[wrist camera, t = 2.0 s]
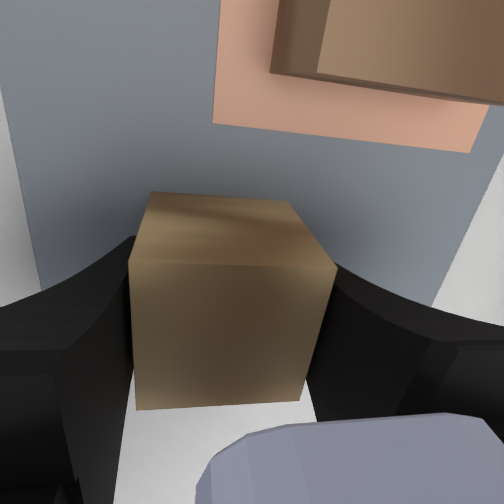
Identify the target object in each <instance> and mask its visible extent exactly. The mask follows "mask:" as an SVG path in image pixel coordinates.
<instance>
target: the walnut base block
mask: <svg viewBox="0 0 504 504" xmlns="http://www.w3.org/2000/svg"><path fill="white" fill-rule="evenodd" d="M269 73H272V74H279V75H285V76H292V77H298V78H305V79H311V80H318V81H324V82H331V83H337V84H344V85H350V86H357V87H363V88H370V89H376V90H383V91H389V92H395V93H402V94H408V95H415V96H421V97H428V98H434V99H441V100H447V101H456V102H465V103H475V104H485V105H494V106H504V0H279V6H278V13H277V21H276V28H275V35H274V43H273V50H272V58H271V65H270V72H269Z"/></svg>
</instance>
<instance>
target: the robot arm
mask: <svg viewBox="0 0 504 504" xmlns="http://www.w3.org/2000/svg"><path fill="white" fill-rule="evenodd" d="M136 237H137V236H132V235H131V236H130V237H128V238H127V239H126V240H124V241H123V242H122V243H121V244H119V245H118V246H117V247H115V248H114V249H113V250H111V251H110V252H109V253H107V254H106V255H104V256H103V257H102V258H100V259H99V260H97V261H96V262H94V263H93V264H91V265H89V266H88V267H86V268H85V269H83V270H82V271H80V272H79V273H77V274H75V275H73V276H72V277H70V278H68V279H66V280H64V281H62V282H60V283H58V284H56V285H54V286H52V287H50V288H48V289H46V290H43V291H41V292H39V293H36V294H34V295H31V296H29V297H26V298H24V299H21V300H19V301H16V302H14V303H12V304H9V305H6V306H3V307H0V504H113V501H114V493H115V485H116V478H117V471H118V463H119V456H120V449H121V442H122V435H123V429H124V422H125V415H126V409H127V402H128V396H129V389H130V383H131V379H132V374H133V370H134V361H133V342H132V323H131V304H130V285H129V266H128V261H129V258H130V255H131V252H132V249H133V246H134V243H135V240H136ZM333 262H334V261H333ZM334 264H335V265H336V266H337V268H338V269H337V272H336V276H335V279H334V283H333V286H332V290H331V293H330V297H329V300H328V303H327V307H326V310H325V314H324V317H323V321H322V324H321V327H320V331H319V334H318V338H317V341H316V345H315V348H314V352H313V355H312V358H311V362H310V365H309V369H308V372H307V376H306V381H307V385H308V389H309V392H310V396H311V400H312V403H313V407H314V411H315V416H316V420H317V422H312V423H299V424H286V425H282V426H278V427H274V428H269V429H265V430H261V431H257V432H253V433H249V434H246V435H245V436H243V437H242V438H240V439H238V440H237V441H235V442H234V443H232V444H231V445H229V446H227V447H226V448H224V449H223V450H221V451H220V452H218V453H217V454H216V455H215V456H214V457H213V458H212V459H211V460H210V461H209V463H208V465H207V467H206V469H205V471H204V472H203V474H202V476H201V478H200V480H199V481H198V483H197V485H196V495H195V504H504V326H499V325H495V324H491V323H486V322H482V321H477V320H473V319H469V318H466V317H462V316H458V315H455V314H451V313H448V312H444V311H441V310H438V309H435V308H432V307H429V306H426V305H423V304H421V303H418V302H415V301H412V300H409V299H407V298H404V297H402V296H399V295H397V294H395V293H392V292H390V291H388V290H386V289H383V288H381V287H379V286H377V285H375V284H373V283H371V282H369V281H367V280H365V279H363V278H361V277H359V276H358V275H356V274H354V273H352V272H350V271H349V270H347V269H345V268H343V267H342V266H340V265H339V264H337V263H335V262H334Z"/></svg>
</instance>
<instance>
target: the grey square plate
mask: <svg viewBox="0 0 504 504" xmlns="http://www.w3.org/2000/svg"><path fill="white" fill-rule="evenodd" d="M278 6H279V0H0V87H1V92H2V97H3V102H4V107H5V112H6V117H7V122H8V127H9V132H10V137H11V141H12V146H13V151H14V156H15V161H16V166H17V171H18V176H19V181H20V186H21V191H22V196H23V201H24V205H25V210H26V215H27V220H28V225H29V230H30V235H31V240H32V245H33V250H34V255H35V260H36V265H37V270H38V274H39V279H40V284H41V289H42V291H43V290H46V289H48V288H50V287H52V286H54V285H56V284H58V283H60V282H62V281H64V280H66V279H68V278H70V277H72V276H73V275H75V274H77V273H79V272H80V271H82V270H83V269H85V268H86V267H88V266H89V265H91V264H93V263H94V262H96V261H97V260H99V259H100V258H102V257H103V256H104V255H106V254H107V253H109V252H110V251H111V250H113V249H114V248H115V247H117V246H118V245H119V244H121V243H122V242H123V241H124V240H126V239H127V238H128V237H130V236H131V235H132V236H137V234H138V231H139V228H140V225H141V222H142V219H143V216H144V213H145V210H146V207H147V204H148V201H149V198H150V195H151V192H152V191H157V192H171V193H185V194H198V195H212V196H226V197H240V198H254V199H268V200H282V201H288V203H289V204H290V205H291V207H292V208H293V209H294V211H295V212H296V213H297V215H298V216H299V217H300V219H301V220H302V221H303V223H304V224H305V225H306V227H307V228H308V229H309V231H310V232H311V233H312V234H313V236H314V237H315V238H316V240H317V241H318V242H319V244H320V245H321V246H322V248H323V249H324V250H325V252H326V253H327V254H328V256H329V257H330V258H331V260H332V261H334V262H335V263H337V264H339V265H340V266H342V267H343V268H345V269H347V270H349V271H350V272H352V273H354V274H356V275H358V276H359V277H361V278H363V279H365V280H367V281H369V282H371V283H373V284H375V285H377V286H379V287H381V288H383V289H386V290H388V291H390V292H392V293H395V294H397V295H399V296H402V297H404V298H407V299H409V300H412V301H415V302H418V303H421V304H423V305H426V306H429V307H431V306H432V303H433V301H434V299H435V297H436V295H437V293H438V291H439V289H440V287H441V284H442V282H443V280H444V278H445V276H446V274H447V272H448V270H449V268H450V266H451V263H452V261H453V259H454V257H455V255H456V253H457V251H458V249H459V247H460V244H461V242H462V240H463V238H464V236H465V234H466V232H467V230H468V228H469V225H470V223H471V221H472V219H473V217H474V215H475V213H476V211H477V209H478V206H479V204H480V202H481V200H482V198H483V196H484V194H485V192H486V190H487V187H488V185H489V183H490V181H491V179H492V177H493V175H494V173H495V171H496V168H497V166H498V164H499V162H500V160H501V158H502V156H503V154H504V106H494V105H485V104H475V103H465V102H456V101H447V100H441V99H434V98H428V97H421V96H415V95H408V94H402V93H395V92H389V91H383V90H376V89H370V88H363V87H357V86H350V85H344V84H337V83H331V82H324V81H318V80H311V79H305V78H298V77H292V76H285V75H279V74H272V73H269V72H270V65H271V58H272V50H273V43H274V35H275V28H276V21H277V13H278Z"/></svg>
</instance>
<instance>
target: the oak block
mask: <svg viewBox="0 0 504 504" xmlns="http://www.w3.org/2000/svg"><path fill="white" fill-rule="evenodd" d="M128 266H129V285H130V304H131V323H132V342H133V361H134V380H135V399H136V411H137V410H154V409H171V408H188V407H205V406H222V405H239V404H255V403H272V402H289V401H299V400H300V396H301V393H302V389H303V386H304V382H305V379H306V376H307V372H308V369H309V365H310V362H311V358H312V355H313V352H314V348H315V345H316V341H317V338H318V334H319V331H320V327H321V324H322V321H323V317H324V314H325V310H326V307H327V303H328V300H329V297H330V293H331V290H332V286H333V283H334V279H335V276H336V272H337V269H338V268H337V266H336V265H335V264H334V262H333V261H332V260H331V258H330V257H329V256H328V254H327V253H326V252H325V250H324V249H323V248H322V246H321V245H320V244H319V242H318V241H317V240H316V238H315V237H314V236H313V234H312V233H311V232H310V231H309V229H308V228H307V227H306V225H305V224H304V223H303V221H302V220H301V219H300V217H299V216H298V215H297V213H296V212H295V211H294V209H293V208H292V207H291V205H290V204H289V203H288V201H282V200H268V199H254V198H240V197H226V196H212V195H198V194H185V193H171V192H157V191H152V192H151V195H150V198H149V201H148V204H147V207H146V210H145V213H144V216H143V219H142V222H141V225H140V228H139V231H138V234H137V237H136V240H135V243H134V246H133V249H132V252H131V255H130V258H129V261H128Z"/></svg>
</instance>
